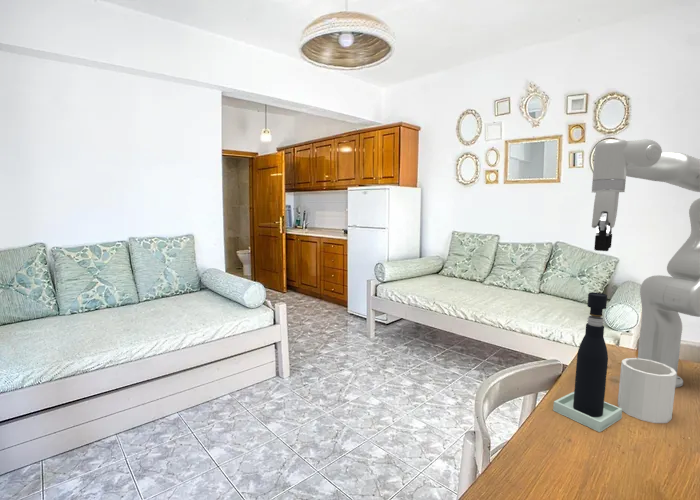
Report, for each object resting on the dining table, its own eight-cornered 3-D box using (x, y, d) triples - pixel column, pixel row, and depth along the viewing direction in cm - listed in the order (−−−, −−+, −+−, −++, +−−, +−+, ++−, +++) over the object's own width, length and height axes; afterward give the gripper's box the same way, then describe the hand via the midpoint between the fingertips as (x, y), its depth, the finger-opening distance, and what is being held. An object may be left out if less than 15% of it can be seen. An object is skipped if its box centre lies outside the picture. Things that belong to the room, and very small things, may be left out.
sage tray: (575, 398, 103) (576, 390, 102) (621, 418, 94) (622, 408, 93) (553, 410, 97) (553, 401, 97) (599, 432, 88) (600, 422, 87)
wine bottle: (607, 418, 92) (619, 298, 88) (578, 415, 93) (588, 296, 89) (596, 405, 98) (606, 291, 94) (569, 402, 99) (578, 290, 95)
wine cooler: (628, 396, 104) (633, 355, 103) (677, 414, 95) (682, 369, 94) (610, 407, 98) (614, 363, 97) (660, 427, 90) (665, 379, 88)
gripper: (595, 188, 112) (590, 245, 114) (588, 186, 99) (583, 251, 101) (626, 187, 108) (620, 247, 110) (623, 185, 94) (617, 253, 96)
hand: (602, 249), depth 105 cm, fingers open, 9 cm apart
